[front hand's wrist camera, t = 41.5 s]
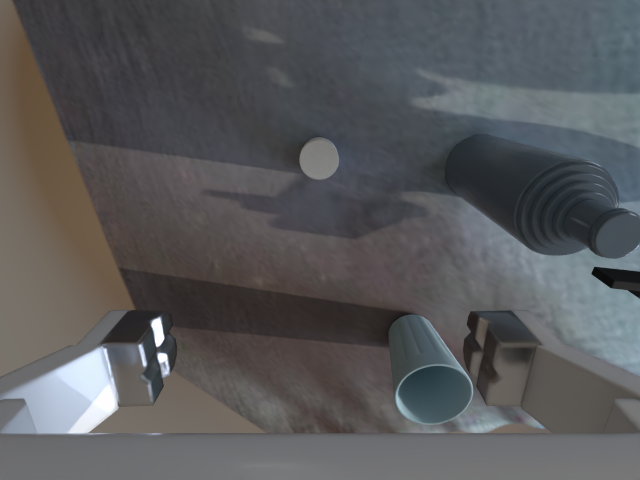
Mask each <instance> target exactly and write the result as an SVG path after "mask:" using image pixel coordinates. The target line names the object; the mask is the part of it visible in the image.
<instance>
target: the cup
mask: <svg viewBox="0 0 640 480" xmlns="http://www.w3.org/2000/svg"><path fill="white" fill-rule="evenodd" d="M388 334H389V348H390V358H391V368H392V378H393V390H394V400H395V404H396V407H397V409H398V410H399V412H400V413H401V414H402V415H403V416H404V417H405V418H407V419H409V420H410V421H413V422H416V423H419V424H426V425H433V424H440V423H444V422H447V421H450V420H452V419H454V418H455V417H457V416H459V415H460V414H461V413H462V412H463V411H464V410H465V409H466V408H467V407H468V405H469V403H470V401H471V399H472V395H473V386H472V383H471V380H470V379H469V377H468V376H467V374H466V373H465V371H464V370H463V368H462V367H461V366H460V364H459V363H458V362H457V360H456V359H455V358H454V356H453V355H452V353H451V352H450V350H449V349H448V348H447V346H446V345H445V343H444V342H443V340H442V339H441V338H440V336H439V335H438V333H437V332H436V330H435V329H434V328H433V326H432V325H431V323H430V322H429V321H428V320H427V319H426V318H424V317H422V316H420V315H412V314H411V315H405V316H402V317H400V318H398V319H397V320H396V321H394V322H393V324H392V325H391V327H390V329H389V332H388Z"/></svg>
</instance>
